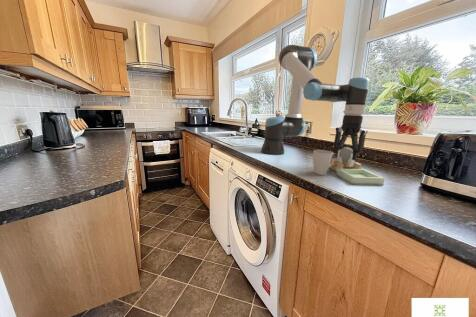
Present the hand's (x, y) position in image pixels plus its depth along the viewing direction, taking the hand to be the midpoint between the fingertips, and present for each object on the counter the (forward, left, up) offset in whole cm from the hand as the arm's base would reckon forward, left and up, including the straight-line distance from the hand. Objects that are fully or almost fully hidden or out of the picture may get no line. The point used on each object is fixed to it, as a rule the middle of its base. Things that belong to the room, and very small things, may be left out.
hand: (344, 164), depth 92 cm
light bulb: (0, 0, -2) cm, 2 cm away
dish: (+13, -1, -3) cm, 13 cm away
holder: (0, 0, -3) cm, 3 cm away
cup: (+5, -14, -3) cm, 15 cm away
